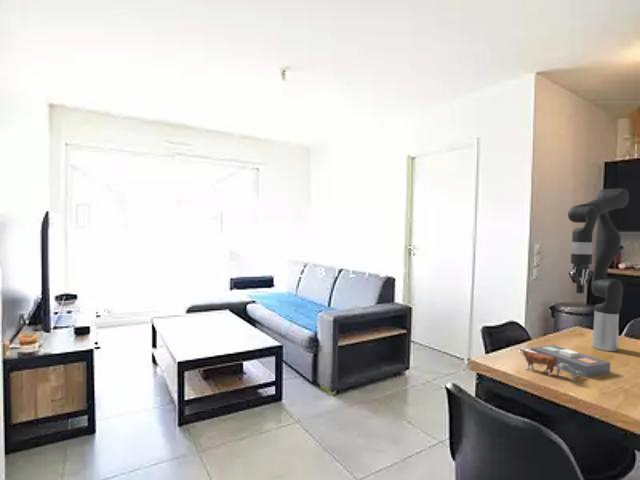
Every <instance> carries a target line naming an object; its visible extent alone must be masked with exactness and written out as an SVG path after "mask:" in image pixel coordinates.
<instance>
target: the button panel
mask: <svg viewBox="0 0 640 480" xmlns="http://www.w3.org/2000/svg"><path fill="white" fill-rule="evenodd" d="M543 347H553V348H556V349H559V350H564V349H566V348H564V347H561V346H557V345H554V344H551V345H542V346H534V347H531V348H530V350H531V351H534V352H536V353H540V354H545V355H550V356H554V357H555V358H556V359H557V363H556V364H555V363H554V364H555V365H554V367H557V368H558V364H560V363H564V364H568V365H569V366H570V367H571V368H573V369H574V370H577V371H581V372H583V378H584V377H585V378H588V377H594V376H600V375H601V376H602V375H606V374H610V373H611V362H609V361H605V360H604V359H600V358H596V357H593V356H590V355H587V354H584V353H580V352H578V353H579V357H572V358H570V357H567V356H564V355H561V354H559V351H555V352H552V351H549V350H546V349H543ZM582 358H587V359H590V360H593V361H597V362H598V363H595V364H588V363H585V362H582V361H579V360H577V359H582ZM555 362H556V361H555Z"/></svg>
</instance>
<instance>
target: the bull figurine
mask: <svg viewBox="0 0 640 480" xmlns="http://www.w3.org/2000/svg"><path fill="white" fill-rule="evenodd" d="M518 353H519V354H521V355H522V357H523V359H524V361H525V362H526V363H527V366H526V368H525V369H524V370H525V371H528V370H534V369H535V367H534V364H535V365H539V367H540V368H541V367H543V366H546V369H544V370H543V371H542V372H543V373H548V372H549V373H548V374H547V375H548V376H553V371H554V368H555V366H554V365H555V364H556V363H557V359H556V358H555V357H554V356H550V355H545V354H540V353H536V352H534V351H531V349H530V348H526V347H525V346H522V347H521V348H519V350H518ZM555 361H556V362H555ZM554 363H555V364H554Z"/></svg>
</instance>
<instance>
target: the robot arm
mask: <svg viewBox="0 0 640 480" xmlns="http://www.w3.org/2000/svg"><path fill="white" fill-rule="evenodd" d="M629 200H630V195H629V192H628V190H627V189H625V188H619V187H618V188H603V189H601V190H599V192H598V193H597V198H596V199H593V200H590V201H588V202H587V203H582V204H577V205H573V206H572V207H571V208H570V209H569V210H568V212H567V217H568V219H569V221H571V222H572V223H581V224H582V223H584V225H583V226H582V227H579V228H574V229H573V230H572V235H571V238H572V239H571V240H572V241H571V247H570V264H572V270H571V271H568V275H569V278H570V279H571V281H572V283H573V284H575V285H576V289H575V290H576V293H577V294H584V293H585V285H586V284H588V283H589V282H590V280H591V287H590V289H591V292H592V294H593V295H594V296H596V297H600V298H605V301H604V302H603V303H599V304H598V303H597V304H595V305H594V312H593V313H594V314H593V329H592V330H593V332H592V347H593V348H594V349H598V350H601V351H606V352H617V351H618V348H619V346H618V345H619V330H620V329H619V323H620V322H619V321H620V320H619V318H620V310H621V308H622V302H623V301H622V300H623V295H624V287H623V283H622V282H621V280H619V279H615V278H610V277H609V278H608V271H609V268H610V265H612V262H613V261H614V260H615V259H616V258H617V257H618V256H619V253H620V252H621V244H622V243H621V242H622V241H621V240H622V238H621V237H622V236H621V234H620V232H619V231H618V229H617V228H616V226H615V225H614V223H613V222H612V221H611V219H610V215H609V211H612V210H613V211H614V210H617V209H623V208H625V207H626V206H627V205H628V203H629ZM596 223H597V228H596V229H597V230H596V239H595V257H594V267H593V271H591V270H590V265H592V264H593V252H594V251H593V250H594V249H593V233H594V229H595V225H596Z"/></svg>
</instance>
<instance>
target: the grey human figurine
mask: <svg viewBox="0 0 640 480" xmlns="http://www.w3.org/2000/svg"><path fill="white" fill-rule="evenodd" d="M561 371H563V372H566V373H569V374H570V376H571V378H572V379H571V381H572V382H573V383H576V381H577V380H576V376H579V379H583V378H584V376H583V372H581V371H577V370H574V369H573V368H571V367H570V366H569V365H568V364H564V363H560V364H558V367H557V369H556V376H557V377H558V378H560V372H561Z"/></svg>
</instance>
